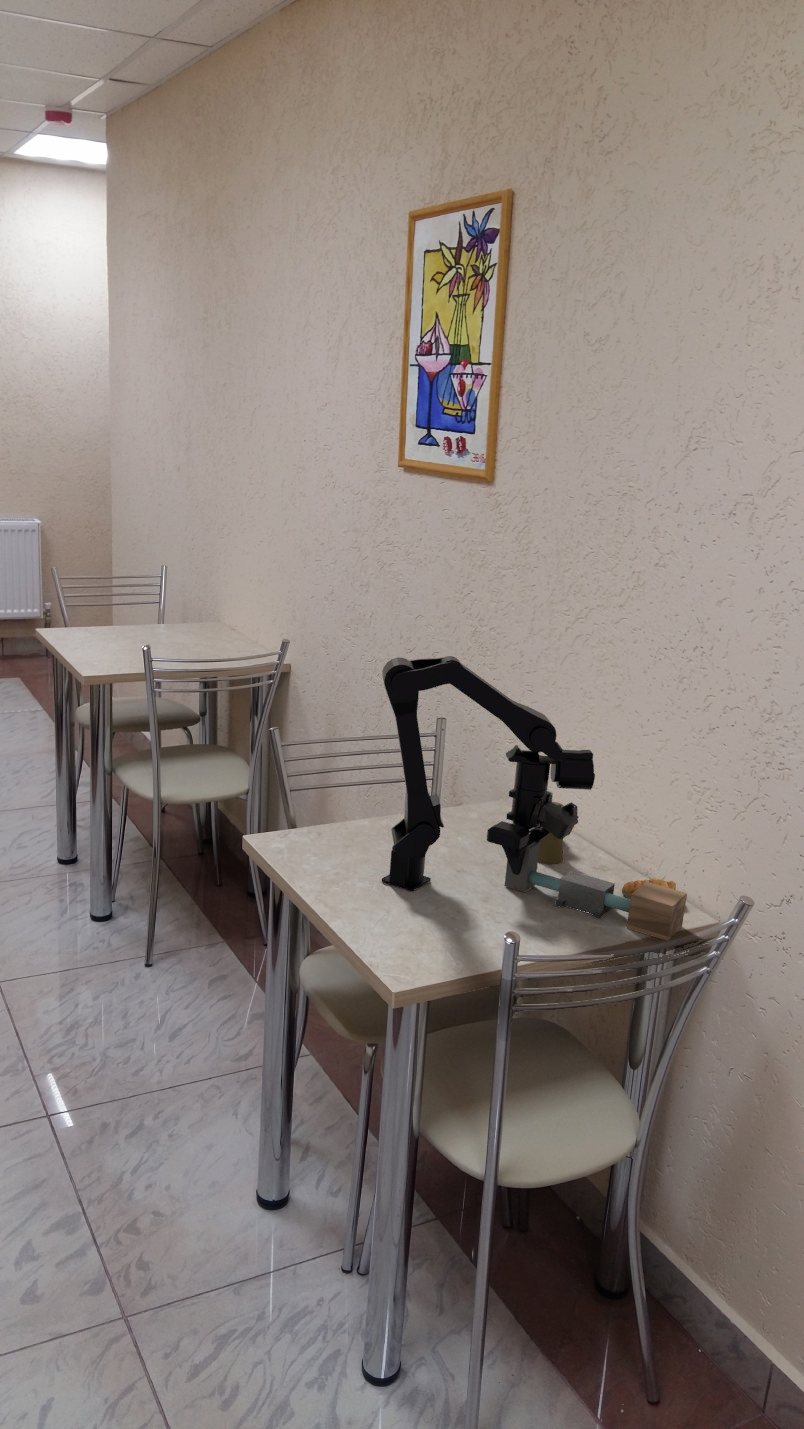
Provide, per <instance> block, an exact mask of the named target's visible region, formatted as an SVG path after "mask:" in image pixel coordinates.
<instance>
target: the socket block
mask: <svg viewBox="0 0 804 1429" xmlns="http://www.w3.org/2000/svg"><path fill="white" fill-rule="evenodd" d="M687 894H688V893H687V892H684V891H683V890H682V891H681V890H678V889H675V890H674V889H671V888H667V887H664V886H660V885H657V884H653V883H650V882H645V883H644V884H643V885H642V886H641V887H639V888H638V889H637V890H636V891H634V892H633V893H632V894H631V899H630V907H629V913H627V914H628V916H627V924H626V929H628V930H631V931H635V932H638V933H641V934H645V935H647V936H652V937H654V938H658V939H661V940H665V941H669V940H670V939H671V938H672V937H673V936H674V935H675V934H676V933H678V931H679V930H680V929H682V927H683V924H684V923H683V922H684V917H685V916H684V915H685V909H686V902H687V896H688V895H687Z"/></svg>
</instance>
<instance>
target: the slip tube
mask: <svg viewBox="0 0 804 1429" xmlns="http://www.w3.org/2000/svg"><path fill="white" fill-rule="evenodd" d="M529 841H532V840H529ZM533 842H534V843H533V844H532V845H530V846H529V847H527V848H526V850H525V854H524V859H523V863H522V867H521V870H520V873H519V875H516V874H513V873H512V870H511V867H510V865H509V862H508V859H507V858H506V859H507V860H506V868H505V869H506V870H505V877H504V878H505V880H504V887H507V888H510V889H514V890H517V891H520V892H523V893H526V892H527V891H528V890H530V889H532V888H533V887H535V886H539V887H542V888H545V889H549V890H551V891H555V892H558V893H559V885H560V879H561V878H558V877H555V876H551V875H548V874H547V873H546V874H545V873H542V872H539V871H538V863H539V862H538V855H539V846H540V843H539V842H535V841H533ZM604 905H605V906H608V907H611V908H612V909H615V910H618V911H622V912H624V913H625V912H626V913H627V914H629V907H630V899H629V898H627V897H623V896H620V895H616V894H614V893H613V894H610V893H606V894H605V901H604Z"/></svg>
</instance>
